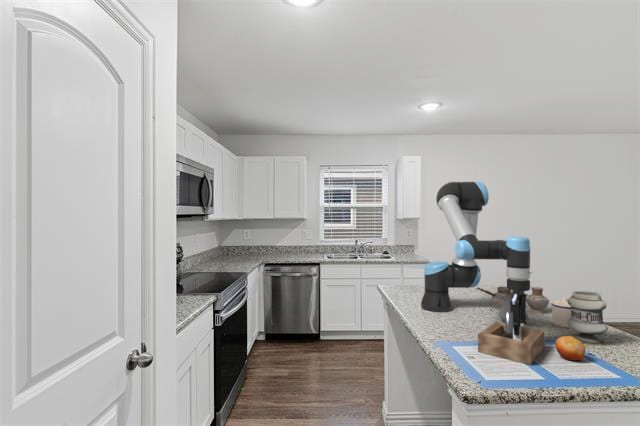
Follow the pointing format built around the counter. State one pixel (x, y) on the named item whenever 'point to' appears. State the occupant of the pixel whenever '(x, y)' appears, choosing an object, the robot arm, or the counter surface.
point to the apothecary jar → (587, 316)
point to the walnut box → (511, 343)
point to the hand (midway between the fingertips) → (518, 342)
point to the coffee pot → (505, 305)
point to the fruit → (570, 348)
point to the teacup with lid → (561, 312)
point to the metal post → (509, 324)
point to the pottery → (534, 300)
